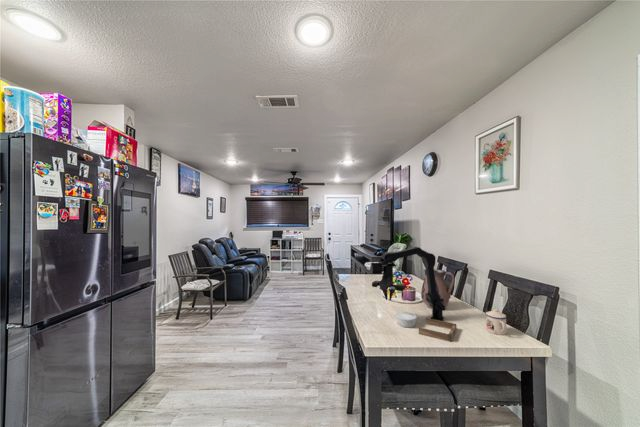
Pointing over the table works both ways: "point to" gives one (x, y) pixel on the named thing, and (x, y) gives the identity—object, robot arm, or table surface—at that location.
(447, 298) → the ceramic pitcher
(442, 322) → the walnut dock
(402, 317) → the ramekin
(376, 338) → the table surface
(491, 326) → the teacup with lid
